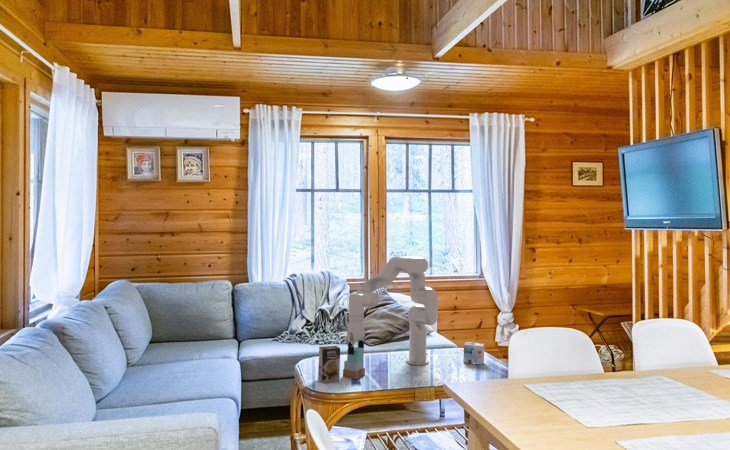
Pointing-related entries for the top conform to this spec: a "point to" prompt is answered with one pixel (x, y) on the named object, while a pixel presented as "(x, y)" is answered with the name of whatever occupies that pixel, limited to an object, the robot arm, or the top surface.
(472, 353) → the light bulb box
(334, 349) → the coffee box
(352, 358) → the teal cube
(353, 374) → the walnut base block
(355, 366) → the slate grey top block
